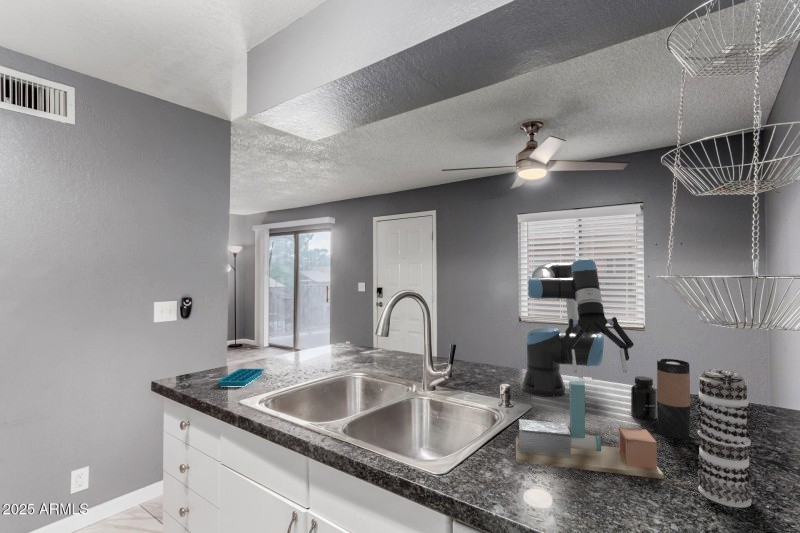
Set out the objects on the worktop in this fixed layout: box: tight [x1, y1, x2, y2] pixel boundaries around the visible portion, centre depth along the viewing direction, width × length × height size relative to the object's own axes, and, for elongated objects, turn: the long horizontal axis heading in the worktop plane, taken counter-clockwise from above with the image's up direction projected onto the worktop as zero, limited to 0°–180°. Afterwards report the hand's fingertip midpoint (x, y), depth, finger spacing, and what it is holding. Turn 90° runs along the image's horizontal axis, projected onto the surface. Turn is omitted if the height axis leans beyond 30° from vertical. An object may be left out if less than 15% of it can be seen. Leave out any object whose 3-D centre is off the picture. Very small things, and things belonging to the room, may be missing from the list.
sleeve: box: [518, 418, 571, 459], centre depth 100 cm, size 12×7×6 cm, turn 74°
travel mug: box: [656, 358, 691, 440], centre depth 111 cm, size 8×8×20 cm
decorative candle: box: [694, 368, 754, 509], centre depth 81 cm, size 9×9×25 cm
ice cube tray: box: [217, 368, 265, 387], centre depth 167 cm, size 12×20×3 cm, turn 177°
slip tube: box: [568, 380, 602, 452], centre depth 98 cm, size 16×4×16 cm, turn 74°
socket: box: [618, 426, 658, 469], centre depth 94 cm, size 6×7×6 cm
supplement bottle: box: [630, 375, 658, 421], centre depth 124 cm, size 7×7×12 cm
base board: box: [515, 436, 664, 480], centre depth 97 cm, size 31×12×1 cm, turn 74°
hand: (599, 371), depth 119 cm, fingers open, 13 cm apart
